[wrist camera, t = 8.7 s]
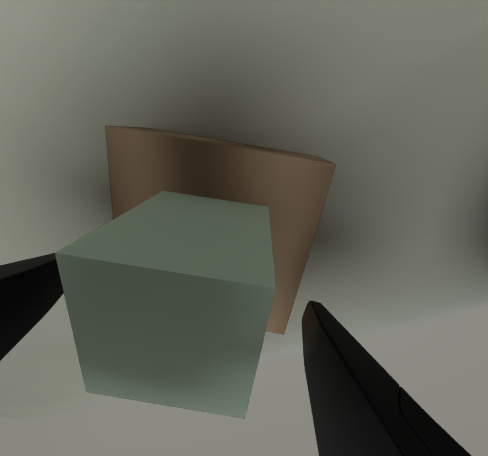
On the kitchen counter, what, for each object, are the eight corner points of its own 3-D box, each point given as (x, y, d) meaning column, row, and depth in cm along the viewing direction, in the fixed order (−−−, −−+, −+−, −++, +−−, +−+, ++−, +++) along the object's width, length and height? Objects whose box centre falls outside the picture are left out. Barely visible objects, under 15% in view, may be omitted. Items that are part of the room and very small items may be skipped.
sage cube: (268, 206, 10) (275, 288, 5) (252, 292, 12) (244, 418, 7) (163, 190, 11) (54, 253, 5) (163, 278, 13) (86, 392, 7)
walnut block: (315, 155, 13) (336, 164, 10) (279, 291, 17) (284, 334, 13) (148, 127, 13) (105, 125, 10) (150, 268, 17) (120, 305, 14)
